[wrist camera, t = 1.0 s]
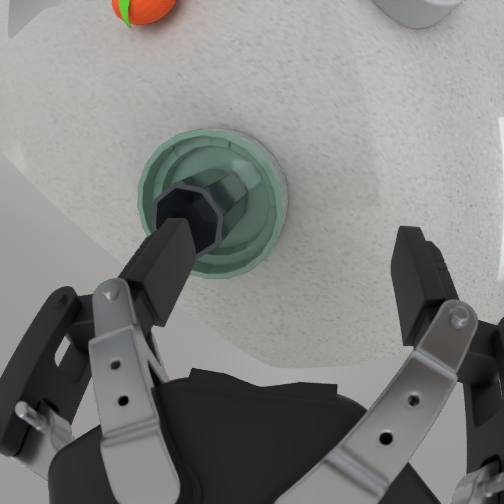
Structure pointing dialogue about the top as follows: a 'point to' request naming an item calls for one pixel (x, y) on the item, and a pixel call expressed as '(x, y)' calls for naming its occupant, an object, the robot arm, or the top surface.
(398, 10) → the lumpy-topped squat cylinder
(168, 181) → the bowl
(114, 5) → the clementine
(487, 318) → the top surface
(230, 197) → the cup
